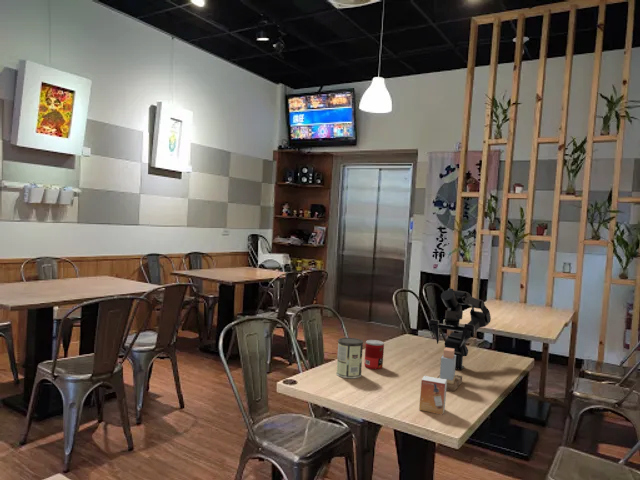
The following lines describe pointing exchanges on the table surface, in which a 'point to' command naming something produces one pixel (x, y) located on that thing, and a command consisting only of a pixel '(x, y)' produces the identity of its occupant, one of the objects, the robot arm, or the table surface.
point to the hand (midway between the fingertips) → (448, 344)
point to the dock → (456, 383)
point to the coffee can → (349, 357)
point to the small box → (433, 395)
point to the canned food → (374, 354)
